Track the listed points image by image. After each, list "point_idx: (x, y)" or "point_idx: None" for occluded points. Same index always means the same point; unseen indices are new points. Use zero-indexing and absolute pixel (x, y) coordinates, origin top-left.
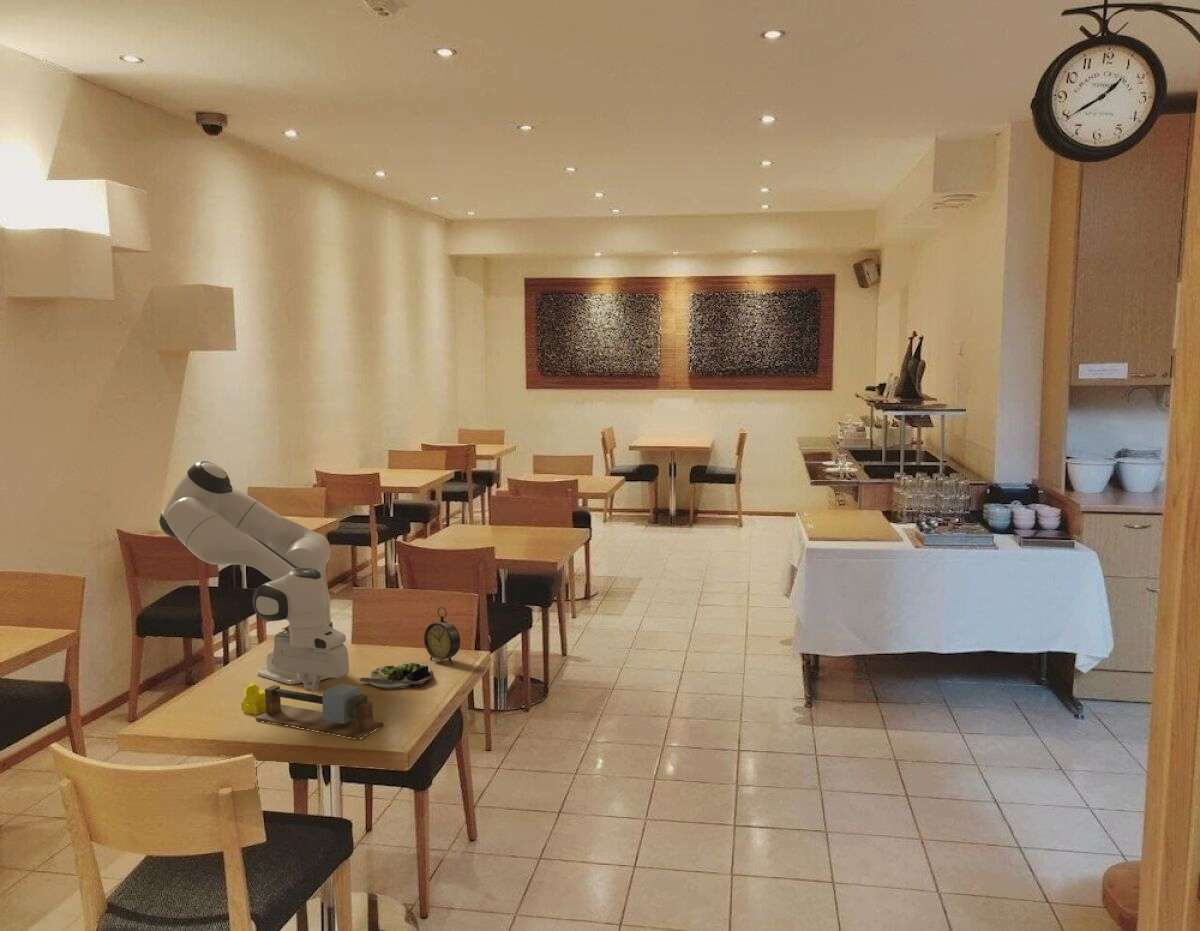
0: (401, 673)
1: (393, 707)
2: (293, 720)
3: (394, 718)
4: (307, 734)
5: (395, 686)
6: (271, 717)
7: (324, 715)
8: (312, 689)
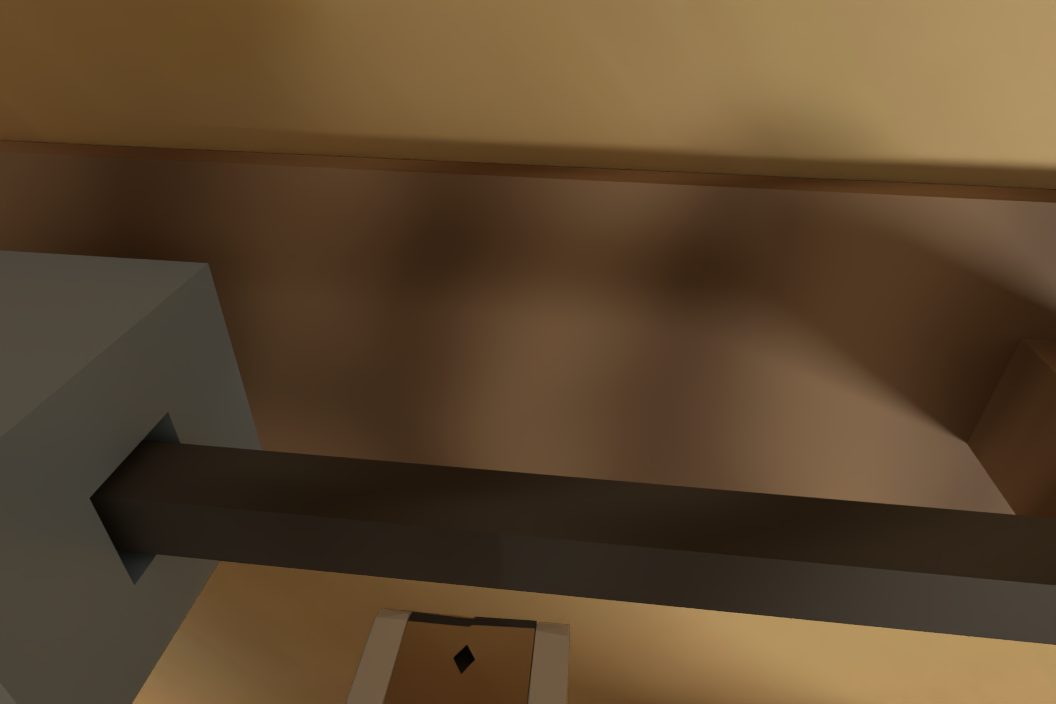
0: None
1: (198, 640)
2: (677, 274)
3: None
4: (327, 63)
5: None
6: (996, 270)
7: (158, 291)
8: (397, 640)
